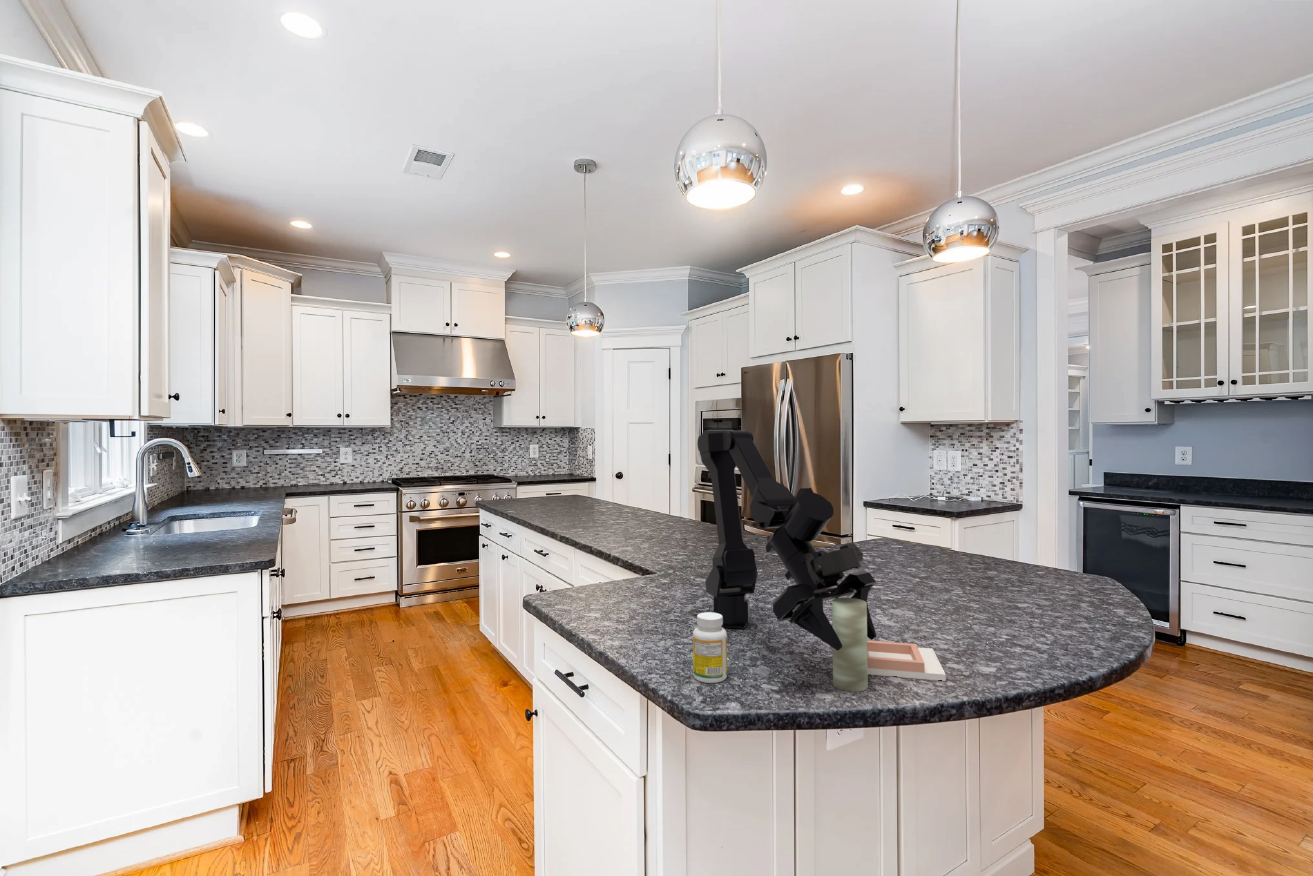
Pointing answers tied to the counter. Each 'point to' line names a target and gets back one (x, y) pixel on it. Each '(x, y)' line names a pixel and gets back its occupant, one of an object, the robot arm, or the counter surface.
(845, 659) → the post
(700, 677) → the supplement bottle
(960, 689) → the counter surface
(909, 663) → the board
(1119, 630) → the counter surface
